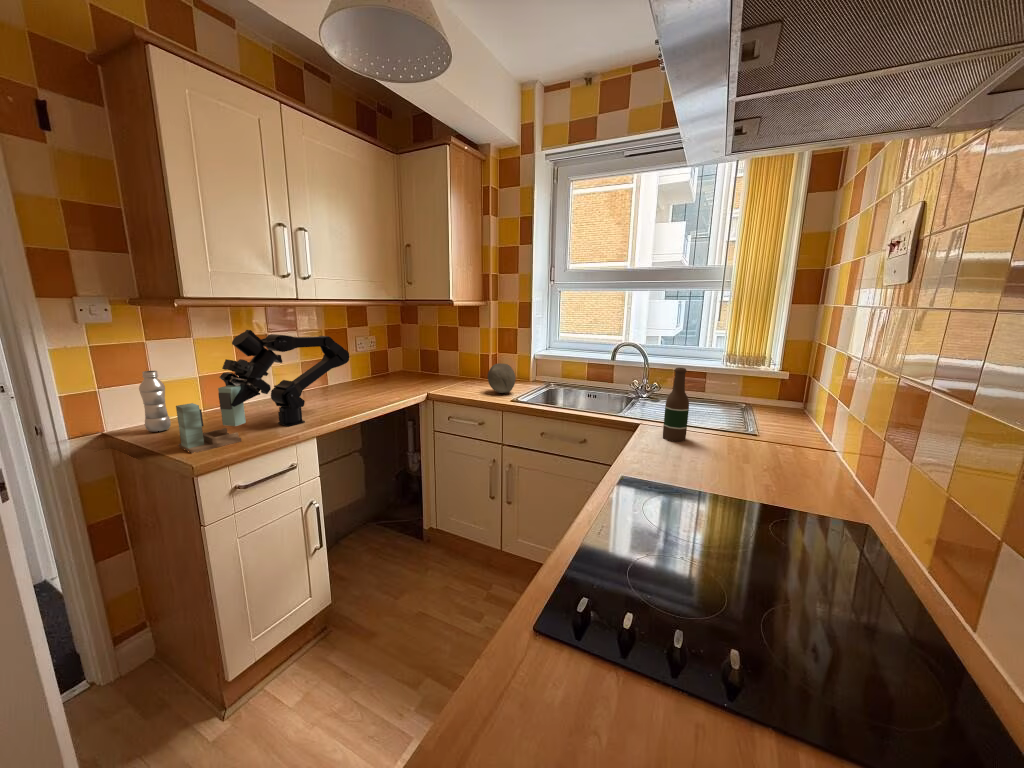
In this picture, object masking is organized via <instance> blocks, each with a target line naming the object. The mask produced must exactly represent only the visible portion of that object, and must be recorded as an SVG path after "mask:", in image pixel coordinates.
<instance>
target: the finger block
mask: <svg viewBox="0 0 1024 768" xmlns="http://www.w3.org/2000/svg"><path fill="white" fill-rule="evenodd" d="M240 390H241V386H231V385H229V386H226V385H225V386H221V387H217V391H218V401H219V409H220V412H221V413H220V415H221V421H222V426H224V427H226V426H228V427H237V426H241V425H244V424H246V414H245V403H244V402H243V403H241V404H239V405H237V406H235V407H233V406H232V405H231V404H232V402H233V401H234V399H235V397H236V396H237V394H238V393H239V391H240Z"/></svg>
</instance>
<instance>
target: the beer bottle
mask: <svg viewBox="0 0 1024 768" xmlns="http://www.w3.org/2000/svg"><path fill="white" fill-rule="evenodd" d="M674 372H675V373H674V380H673V386H672V390H671V392H670V393H669V394H668V396H667V398H666V401H665V405H664V417H663V428H662V438H663V439H665V440H666V441H669V442H677V443H682V442H685V441H686V437H687V431H688V430H687V429H688V421H689V420H688V419H689V412H690V411H689V410H690V401H689V397H688V395H687V393H686V373H687V368H685V367H675V370H674Z"/></svg>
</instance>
